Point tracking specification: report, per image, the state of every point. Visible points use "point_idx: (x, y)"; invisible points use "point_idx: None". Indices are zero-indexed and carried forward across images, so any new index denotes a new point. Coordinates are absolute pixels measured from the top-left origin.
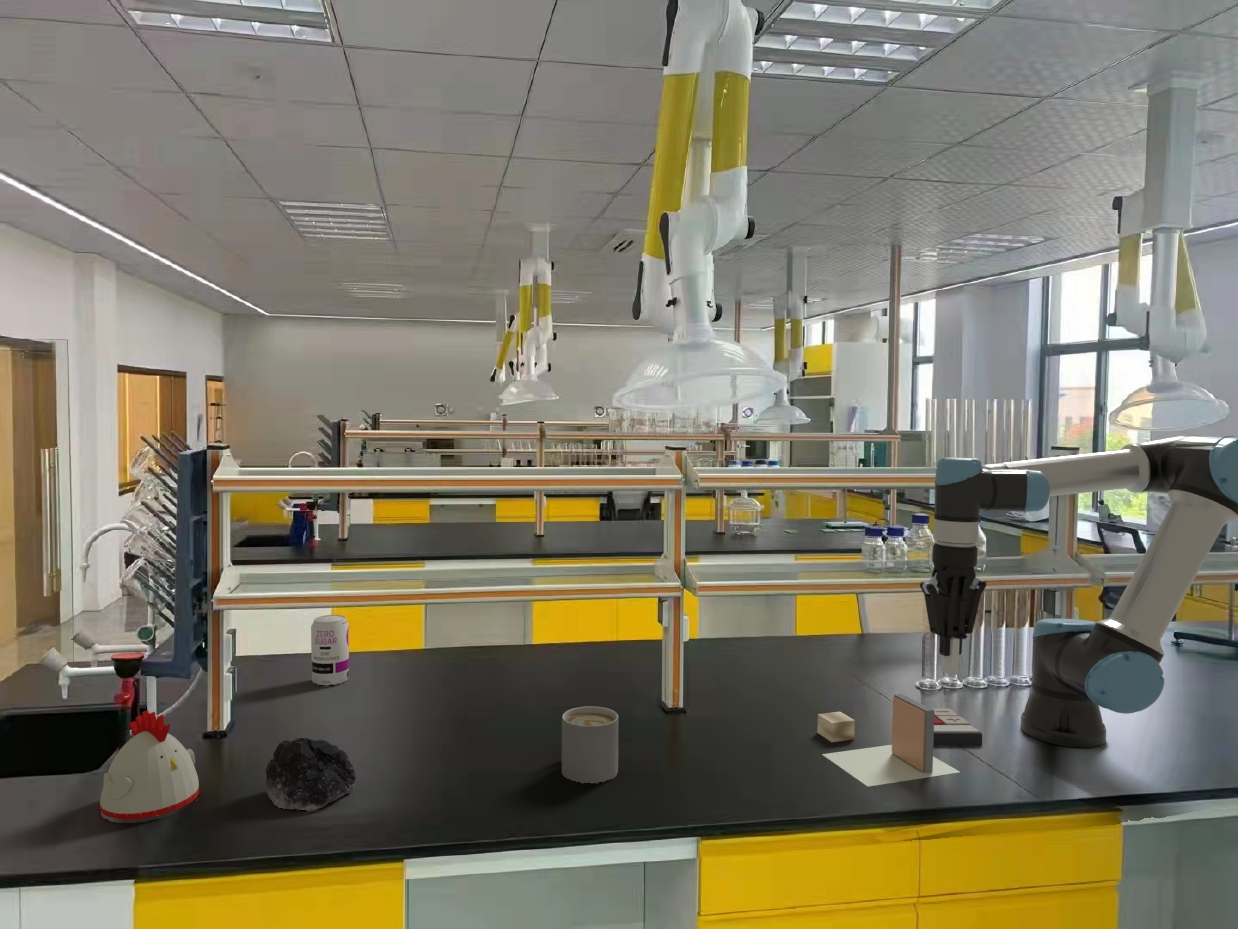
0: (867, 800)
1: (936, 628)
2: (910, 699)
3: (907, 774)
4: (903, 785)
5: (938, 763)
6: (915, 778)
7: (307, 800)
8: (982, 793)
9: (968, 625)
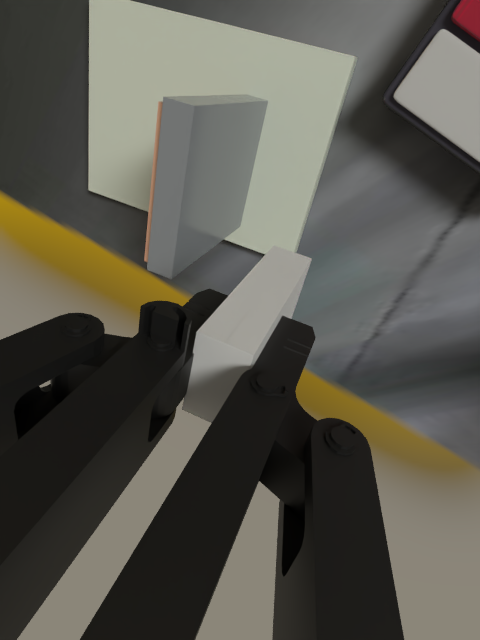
0: (84, 204)
1: (28, 394)
2: (177, 173)
3: None
4: None
5: (291, 207)
6: None
7: None
8: None
9: (277, 539)
